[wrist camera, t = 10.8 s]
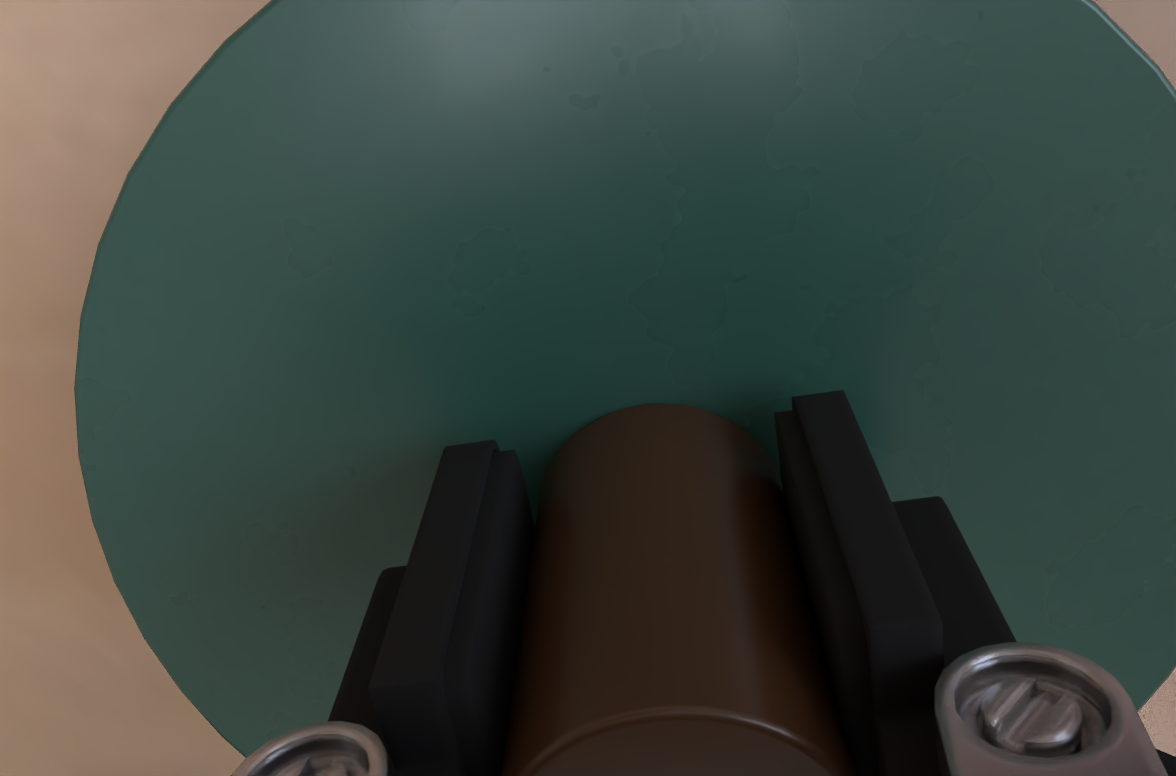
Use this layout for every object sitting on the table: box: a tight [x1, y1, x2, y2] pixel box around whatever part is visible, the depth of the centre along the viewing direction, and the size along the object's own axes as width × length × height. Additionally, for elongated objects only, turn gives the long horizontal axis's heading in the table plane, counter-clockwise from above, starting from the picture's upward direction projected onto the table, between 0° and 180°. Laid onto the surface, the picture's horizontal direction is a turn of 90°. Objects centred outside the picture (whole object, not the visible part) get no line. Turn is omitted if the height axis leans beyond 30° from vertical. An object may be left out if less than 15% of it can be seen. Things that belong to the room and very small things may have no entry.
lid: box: [74, 0, 1176, 776], centre depth 11 cm, size 13×13×6 cm
